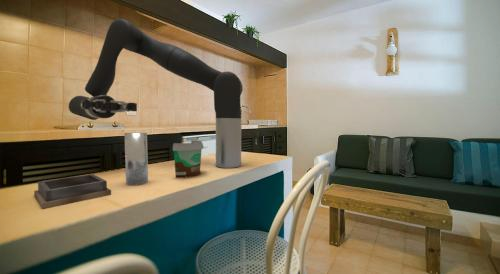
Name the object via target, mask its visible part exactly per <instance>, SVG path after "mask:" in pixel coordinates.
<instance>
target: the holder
mask: <svg viewBox="0 0 500 274" xmlns="http://www.w3.org/2000/svg"><path fill="white" fill-rule="evenodd" d="M33 194H34V197H35V199H36V200H37V201H38V204H39V205H40V207H41V208H42V210H44V209H47V208H48V209H49V208H53V207H58V206H62V205H68V204H73V203H77V202H81V201H87V200H92V199H96V198H101V197H105V196H111V195H112V189H110V188H108V184H107V180H105V179H104V178H102V177H100V176H98V175H95V174H94V173H90V174H83V175H75V176H68V177H62V178H61V177H60V178H55V179H48V180H41V181H37V190H34V191H33Z"/></svg>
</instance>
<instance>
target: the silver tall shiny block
mask: <svg viewBox="0 0 500 274" xmlns="http://www.w3.org/2000/svg"><path fill="white" fill-rule="evenodd" d="M148 155H149V154H148V132H125V133H124V157H125V159H124V163H125V184H126V186H140V185H145V184H147V183H148V182H149V163H148V160H149V159H148Z"/></svg>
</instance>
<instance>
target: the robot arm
mask: <svg viewBox="0 0 500 274" xmlns="http://www.w3.org/2000/svg"><path fill="white" fill-rule="evenodd" d="M123 49H124V50H125V51H129V52H132V53H135V54H138V55H141V56H143V57H146V58H148V59H150V60H152V61H153V62H155V63H156V64H157V65H158V66H160V67H161V68H163V69H164V70H166V71H168V72H170V73H172V74H174V75H176V76H178V77H180V78H183V79H186V80H188V81H190V82H193V83H196V84H199V85H201V86H203V87H206V88H207V89H209V90H211V91H213V107H214V113H215V166H216V167H218V168H225V169H226V168H227V169H228V168H229V169H230V168H231V169H232V168H238V167H241V166H242V107H241V95H242V93H243V87H244V86H243V83H242V81H241V80H240V78H239V77H238V75H237V74H235V73H234V72H232V71H223V72H222V71H220V70H217V69H216V68H213V67H211V66H210V65H208V64H207V63H205V62H204V61H203V60H201V59H200V58H198V57H197V56H195V55H194V54H192V53H190V52H188V51H187V50H185V49H182V48H180V47H178V46H176V45H174V44H171V43H167V42H162V41H159V40H157V39H155V38H153V37H152V36H150V35H149V34H147V33H146V32H143V31H142V30H141V29H140V28H138V27H137V26H136V25H134V24H133V23H131V22H130V21H128V20H126V19H124V18H117V19H115V20H113V21H112V22H111V23H110V25H109V27H108V29H107V32H106V34H105V39H104V41H103V44H102V48H101V50H100V54H99V56H98V60H97V62H96V65H95V68H94V70H93V71H92V73H91V75H90V77H89V79H88V81H87V83H86V84H85V87H84V90H85V92H86V93H87V94H89V95H90V96H91V97H88V96H83V95H76V96H74V97H72V98H71V99H70V101H69V102H68V111H69V112H70V113H71V114H73V115H76V116H79V117H82V118H85V119H88V120H92V121H94V120H95V121H96V120H98V119H110V118H112V117H114V116H115V115H116V114H117V113H126V112H138V104H137V103H136V102H130V101H129V102H126V101H122V100H115V98H113V97H112V96H109V95H108V92H109V91H110V89H111V88H112V86H113V84H114V81H115V80H116V79H115V77H116V67H117V61H118V58H119V56H120V54H121V52H122V50H123Z"/></svg>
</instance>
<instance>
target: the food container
mask: <svg viewBox="0 0 500 274" xmlns="http://www.w3.org/2000/svg"><path fill="white" fill-rule="evenodd" d="M204 148H205V147H204V143H203V140H195V139H193V140H190V142H181V143H178V142H177V143H175V142H174V143H173V145H172V152H173V161H174V171H175V178H177V179H180V178H181V179H182V178H191V177H193V178H194V177H196V176H199V175H201V163H202V149H204Z"/></svg>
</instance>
